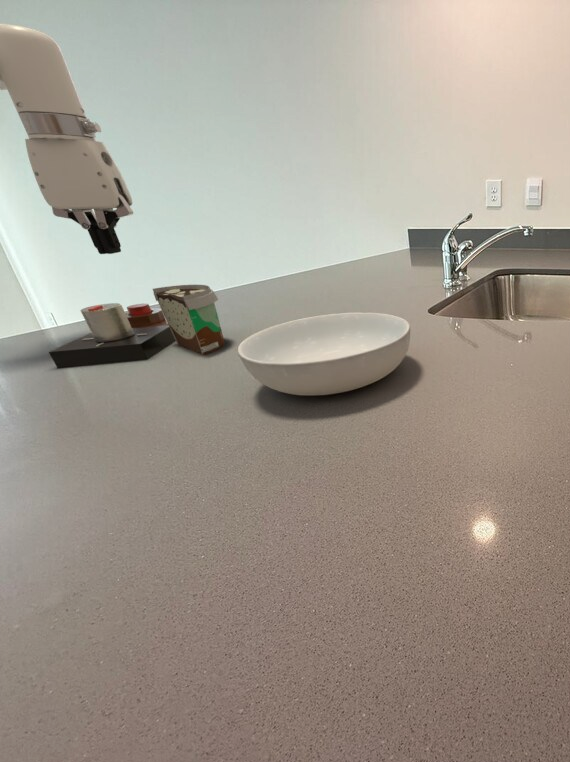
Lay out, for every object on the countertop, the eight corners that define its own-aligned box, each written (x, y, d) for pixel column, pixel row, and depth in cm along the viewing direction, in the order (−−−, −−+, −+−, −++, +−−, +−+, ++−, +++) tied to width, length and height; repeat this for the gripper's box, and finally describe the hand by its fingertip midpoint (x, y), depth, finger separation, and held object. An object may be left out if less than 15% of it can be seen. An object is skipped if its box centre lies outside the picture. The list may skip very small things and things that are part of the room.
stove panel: (58, 370, 62) (47, 351, 61) (101, 347, 71) (92, 330, 70) (148, 361, 65) (139, 342, 63) (179, 340, 73) (172, 324, 72)
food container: (247, 346, 70) (228, 288, 65) (208, 358, 65) (184, 296, 61) (213, 335, 76) (193, 281, 71) (174, 345, 71) (150, 288, 67)
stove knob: (108, 333, 68) (92, 302, 66) (140, 331, 69) (127, 300, 67) (88, 343, 64) (71, 310, 61) (123, 340, 65) (107, 307, 62)
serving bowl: (446, 375, 57) (441, 328, 54) (291, 438, 43) (273, 380, 40) (369, 342, 70) (362, 303, 67) (232, 383, 56) (215, 336, 53)
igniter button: (126, 317, 75) (122, 308, 74) (136, 313, 77) (132, 304, 77) (146, 316, 75) (142, 307, 74) (156, 311, 78) (152, 302, 77)
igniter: (105, 342, 73) (95, 321, 72) (131, 329, 80) (122, 309, 79) (168, 337, 75) (159, 316, 74) (188, 324, 82) (181, 305, 81)
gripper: (130, 134, 68) (170, 248, 76) (21, 132, 65) (75, 251, 73) (100, 128, 61) (148, 254, 69) (-22, 125, 58) (42, 257, 66)
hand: (110, 252), depth 71 cm, fingers closed
